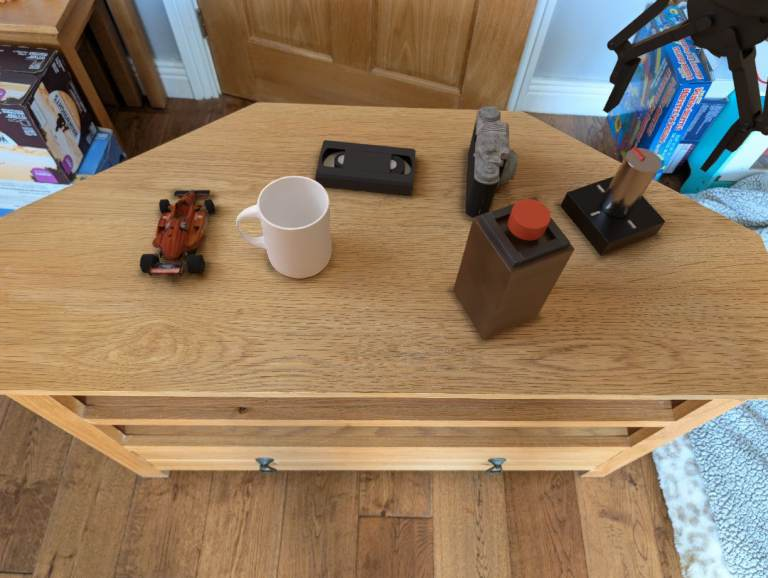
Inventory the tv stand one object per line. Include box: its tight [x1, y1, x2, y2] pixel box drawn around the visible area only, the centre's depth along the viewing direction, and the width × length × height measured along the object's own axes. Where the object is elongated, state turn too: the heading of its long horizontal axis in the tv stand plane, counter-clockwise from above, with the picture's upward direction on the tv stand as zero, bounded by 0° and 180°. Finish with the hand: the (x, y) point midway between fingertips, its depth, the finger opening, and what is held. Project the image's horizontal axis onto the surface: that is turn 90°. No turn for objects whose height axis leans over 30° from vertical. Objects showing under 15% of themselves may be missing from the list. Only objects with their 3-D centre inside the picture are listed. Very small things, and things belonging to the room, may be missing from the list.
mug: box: [235, 175, 333, 279], centre depth 71 cm, size 9×12×11 cm
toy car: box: [139, 189, 217, 277], centre depth 75 cm, size 8×16×4 cm, turn 0°
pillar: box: [452, 196, 575, 341], centre depth 66 cm, size 8×8×16 cm
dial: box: [601, 146, 662, 218], centre depth 75 cm, size 4×4×9 cm
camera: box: [464, 105, 519, 219], centre depth 80 cm, size 15×7×10 cm, turn 173°
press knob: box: [508, 198, 552, 240], centre depth 58 cm, size 4×4×2 cm
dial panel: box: [560, 175, 667, 257], centre depth 80 cm, size 10×10×3 cm
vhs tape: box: [314, 139, 417, 197], centre depth 84 cm, size 14×8×2 cm, turn 85°
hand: (657, 135), depth 68 cm, fingers open, 13 cm apart
